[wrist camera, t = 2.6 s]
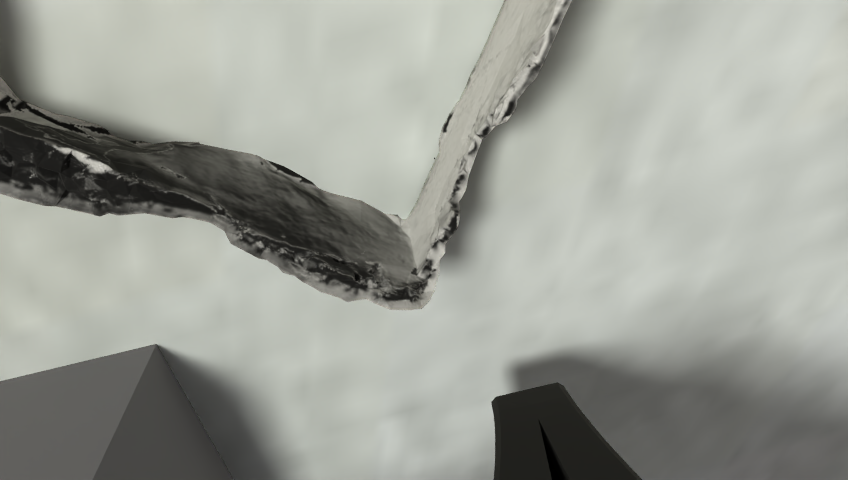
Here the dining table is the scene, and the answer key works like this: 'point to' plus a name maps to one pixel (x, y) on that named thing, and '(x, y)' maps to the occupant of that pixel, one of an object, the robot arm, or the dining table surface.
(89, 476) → the grey stepped block
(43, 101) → the dining table surface
